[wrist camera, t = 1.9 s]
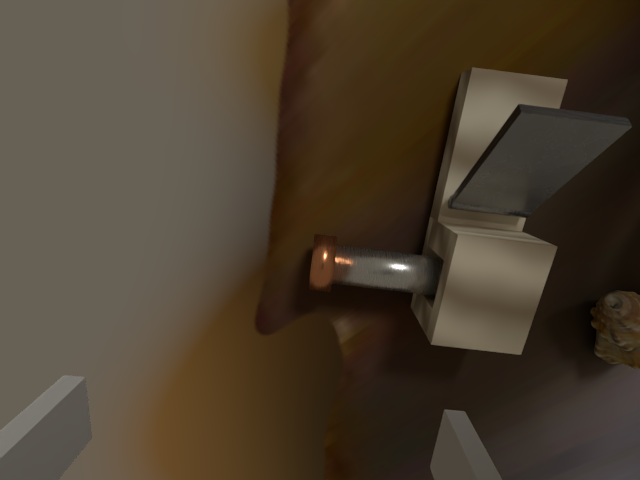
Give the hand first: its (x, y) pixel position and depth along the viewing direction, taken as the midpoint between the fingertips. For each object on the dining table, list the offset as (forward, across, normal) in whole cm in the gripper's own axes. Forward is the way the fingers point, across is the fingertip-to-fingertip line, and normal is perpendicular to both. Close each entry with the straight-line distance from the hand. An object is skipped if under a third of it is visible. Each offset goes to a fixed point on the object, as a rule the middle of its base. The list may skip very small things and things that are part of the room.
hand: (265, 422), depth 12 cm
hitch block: (+22, +17, +6) cm, 28 cm away
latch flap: (+16, +17, +10) cm, 25 cm away
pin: (+21, +8, 0) cm, 23 cm away
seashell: (+22, +34, -4) cm, 40 cm away
